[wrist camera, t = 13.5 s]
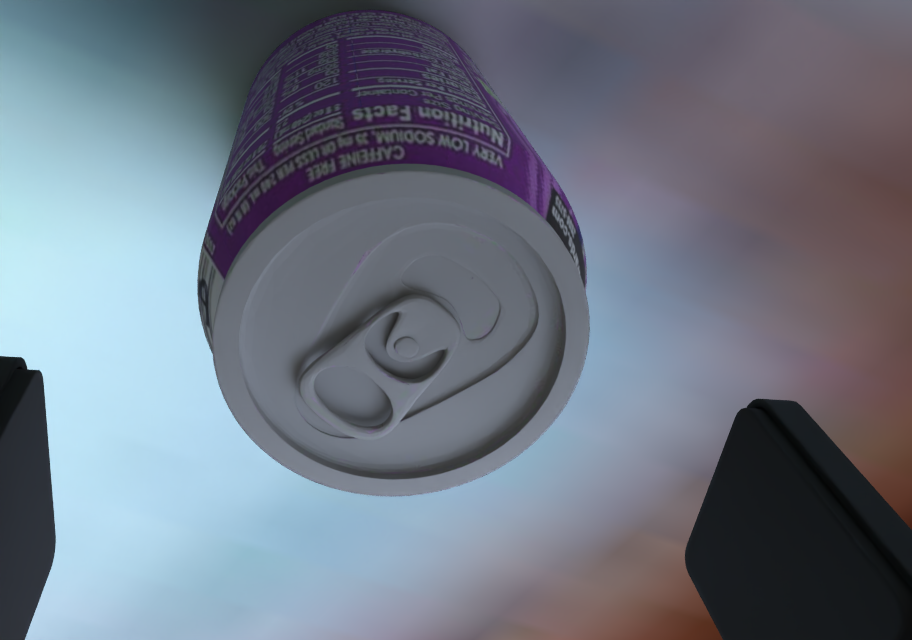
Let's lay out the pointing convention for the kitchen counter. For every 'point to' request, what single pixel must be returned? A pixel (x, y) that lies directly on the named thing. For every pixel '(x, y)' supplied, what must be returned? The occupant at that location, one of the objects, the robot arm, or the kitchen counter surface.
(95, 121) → the kitchen counter surface
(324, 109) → the beverage can
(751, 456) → the robot arm
